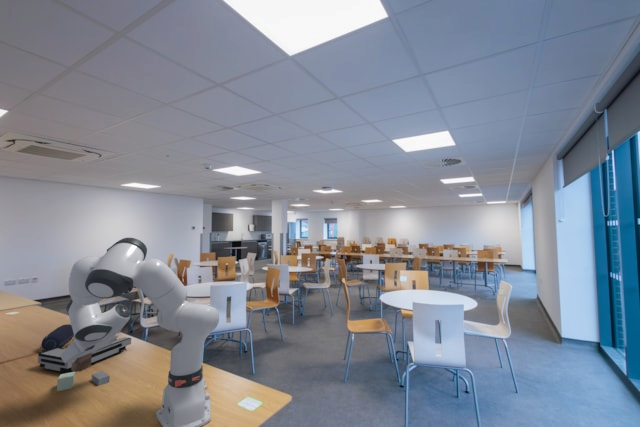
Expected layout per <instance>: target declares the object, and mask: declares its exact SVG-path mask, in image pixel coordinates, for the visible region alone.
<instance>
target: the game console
mask: <svg viewBox="0 0 640 427" xmlns="http://www.w3.org/2000/svg"><path fill="white" fill-rule="evenodd" d="M131 344H132V337H127V336H125V337H120V338H118V339H116V340H115V341H114V342H113V343H112V344H111V345H109V346H106V347H104V348H101V349H99V350H97V351H95V352H94V353H93V354H92V356H91V366H94V365H96V364H99V363H101V362H103V361H105V360H108V359H111V358H113V357H116V356H118V355H120V354H122V351H124V350H126V348H127V346H129V345H131ZM68 346H69V345H68ZM68 346H64V347H61V348H59V349H58V348H54V349H50V350H47V351H45V350H44V351H42V352H38V354H37V355H38V356H37V364H39V368H43V369H46V370H51V371H58V372H62V373H64V374H65V373H70V372H75V373H77V372H78V371H71V369H72V361H70V362H67V363H65V362H64V361H63V360H62V358H61V355H62V353H63V352H64V351H65V350H66V348H67V347H68Z"/></svg>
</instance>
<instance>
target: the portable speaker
mask: <svg viewBox="0 0 640 427" xmlns="http://www.w3.org/2000/svg"><path fill="white" fill-rule="evenodd" d="M73 336H74V333H73V329H72V326H71V323H69V324H63V325H61V326H58V327H57V328H55V329H53V330H52V331H51V332H50V333H48V334H47V335H46V336H45V337H43V339H42V341H41V344H40V345H41V348H42V350H44V351H47V350H50V349H54V348H58V349H61V348H63V346H64V345H66V343H68V342H69V341H70V340H71V339H72V338H74V337H73Z"/></svg>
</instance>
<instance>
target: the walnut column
mask: <svg viewBox="0 0 640 427" xmlns="http://www.w3.org/2000/svg"><path fill="white" fill-rule="evenodd" d="M91 356H92V353H89V354H87V355H84V356H82V357H80V358H79V359H78V360H77V361H76V362H74V363H72V369H71V371H77V372H82V371H85V370H87V369H89V368H91V367H92V365H91Z"/></svg>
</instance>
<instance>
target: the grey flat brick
mask: <svg viewBox="0 0 640 427" xmlns="http://www.w3.org/2000/svg"><path fill="white" fill-rule="evenodd" d="M110 376H111V375H109V374H108V373H106V372H105V371H103V370H100V371H99V372H95V373H92V374H91V382H93V383H94V385H97V386H98V387H100V386H103V385H105V384H108V383H110Z"/></svg>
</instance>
